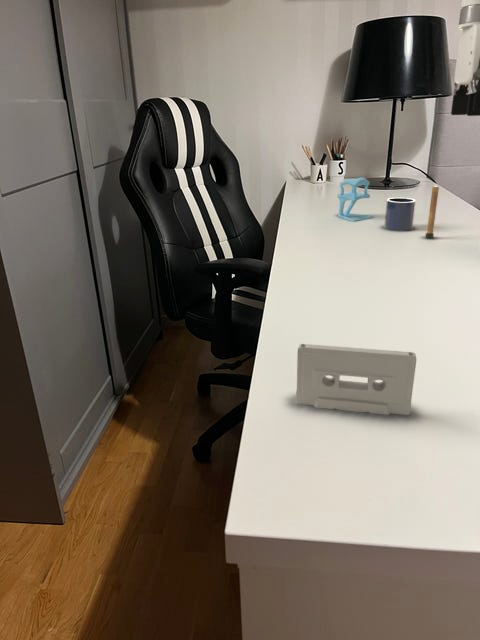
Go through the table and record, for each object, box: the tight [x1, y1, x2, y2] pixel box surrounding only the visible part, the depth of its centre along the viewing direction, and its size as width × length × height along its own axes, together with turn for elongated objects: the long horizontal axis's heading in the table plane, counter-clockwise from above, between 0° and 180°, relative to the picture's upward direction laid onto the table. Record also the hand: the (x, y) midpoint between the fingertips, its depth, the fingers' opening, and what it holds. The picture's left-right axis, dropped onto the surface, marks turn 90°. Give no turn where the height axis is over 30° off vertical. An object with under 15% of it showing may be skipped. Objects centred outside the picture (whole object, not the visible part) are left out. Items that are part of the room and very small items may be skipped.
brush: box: [424, 185, 440, 240], centre depth 118 cm, size 2×2×13 cm
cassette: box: [295, 343, 417, 416], centre depth 53 cm, size 12×2×8 cm, turn 77°
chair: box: [337, 177, 372, 222], centre depth 144 cm, size 8×8×12 cm
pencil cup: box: [383, 197, 416, 232], centre depth 130 cm, size 7×7×8 cm
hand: (466, 115), depth 102 cm, fingers open, 9 cm apart
